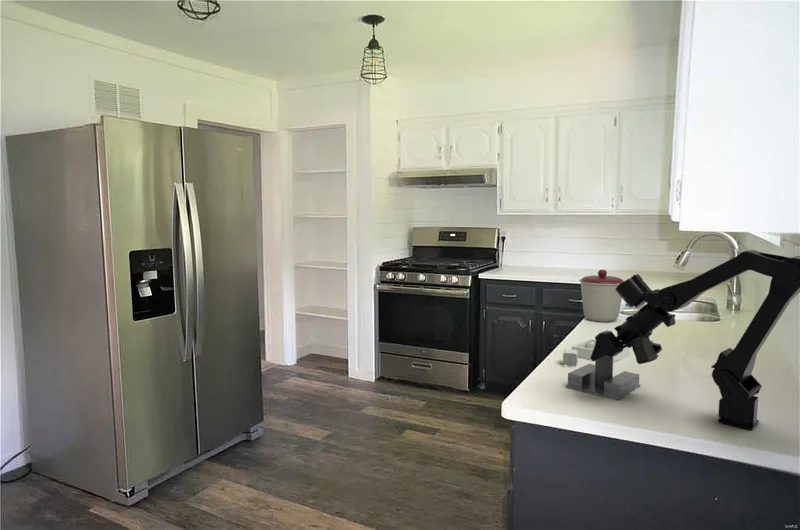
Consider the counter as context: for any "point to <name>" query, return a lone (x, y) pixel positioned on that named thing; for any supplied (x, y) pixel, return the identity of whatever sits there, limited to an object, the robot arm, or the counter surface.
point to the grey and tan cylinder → (603, 370)
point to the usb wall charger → (570, 357)
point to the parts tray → (587, 352)
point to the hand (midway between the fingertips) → (600, 356)
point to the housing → (612, 387)
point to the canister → (601, 297)
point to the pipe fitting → (590, 345)
